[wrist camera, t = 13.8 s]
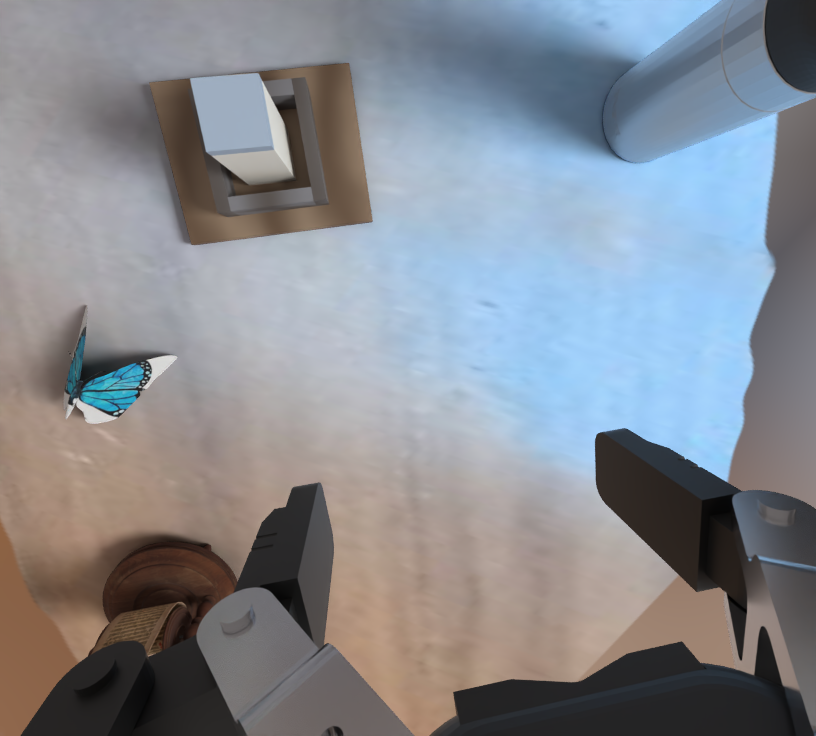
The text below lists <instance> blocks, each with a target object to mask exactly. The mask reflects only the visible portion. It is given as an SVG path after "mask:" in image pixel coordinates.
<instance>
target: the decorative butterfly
mask: <svg viewBox="0 0 816 736" xmlns="http://www.w3.org/2000/svg"><path fill="white" fill-rule="evenodd" d="M86 324H87V306H86V308H85V312H84V316H83V320H82V325H81V329H80V333H79V338H78V341H77V344H76V347H75V351H74V358H72V359H73V360H72V364H71V367H70V371H69V375H68V379H67V383H66V387H65V392H64V411H65V410H66V408H67V410H66V417H65V419H67V418H68V416H69V415H70V413H71V411H72V410H73V408H74V406H75V404H76V406H77V407H78V408H79V409H80V410H82V411H83V413H84V416H85V420H86V422H88V423H91V424H97V423H103V422H108V421H111V420H114V419H116V418H118V417H119V416H120V415H121V414H122V413H123V412H124V411H125V410H126V409H127V408H128V407H129V406H130V405H131V404H132V403H133V402H134V401H135V400H136V399H137V398H138V397H139V396H140V392H139V391H143V390H145V389H147V388H148V387H149V386H150V385H151V383H152V382H153V381H154V380H155V379H156V378H157V377H158V376H159V375H160V374H162V373H163V372H164V371H165V370H166V369H167V368H168V367H169V366H170V365H171V364H172V363H173V362H174V361H175V360H176V359H177V357H176V356H172V355H169V356H162V357H157V358H153V359H149V360H144V361H141V362H137V363H134V364H131V365H128V366H126V367H123V368H121V369H119V370H117V371H114V372H112V373H110V374H107V375H105V376H102V377H99V378H96V379H93V380H91V381H89V382H88V383H87V384H85V385H84V386H83V387H82V388H81V385H82V384H83V382H84V381H81V380H80V376H81V368H82V359H83V352H84V345H85V336H86ZM69 354H70V352H69ZM70 355H71V354H70ZM71 357H72V356H71ZM102 372H105V371H102ZM99 373H100V372H99ZM97 374H98V373H97ZM95 375H96V374H95ZM93 376H94V375H93ZM91 377H92V376H91ZM89 378H90V377H89ZM86 380H87V379H86ZM76 402H77V403H76Z"/></svg>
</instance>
